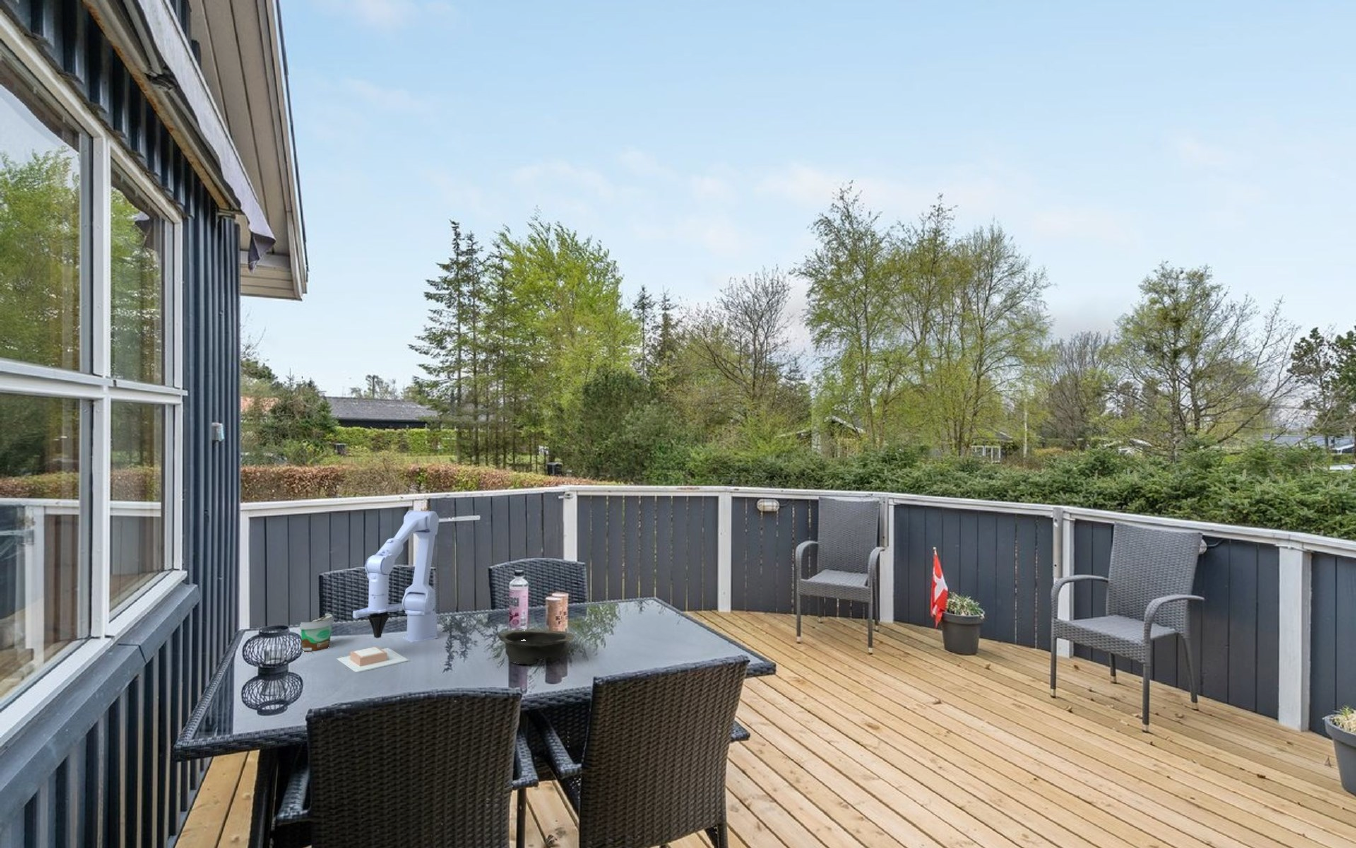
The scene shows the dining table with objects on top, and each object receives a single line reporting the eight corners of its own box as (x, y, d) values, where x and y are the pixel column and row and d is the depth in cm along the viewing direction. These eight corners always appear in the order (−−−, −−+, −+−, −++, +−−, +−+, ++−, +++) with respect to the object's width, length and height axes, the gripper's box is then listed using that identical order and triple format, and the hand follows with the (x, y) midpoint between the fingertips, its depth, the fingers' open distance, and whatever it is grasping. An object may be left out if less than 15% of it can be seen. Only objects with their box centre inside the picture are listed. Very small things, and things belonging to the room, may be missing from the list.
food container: (315, 656, 218) (316, 624, 218) (298, 654, 219) (299, 622, 219) (342, 644, 230) (342, 614, 230) (325, 642, 231) (326, 612, 231)
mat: (386, 648, 227) (386, 646, 227) (410, 662, 214) (410, 660, 214) (335, 659, 216) (335, 657, 216) (356, 674, 203) (357, 672, 203)
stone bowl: (504, 674, 205) (504, 642, 206) (491, 654, 228) (491, 626, 229) (584, 663, 215) (584, 633, 216) (564, 645, 238) (564, 618, 239)
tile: (376, 646, 220) (350, 651, 214) (386, 652, 214) (360, 657, 208) (376, 654, 220) (350, 659, 214) (386, 660, 214) (359, 666, 208)
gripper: (359, 599, 208) (358, 645, 208) (406, 592, 218) (405, 635, 218) (350, 595, 213) (349, 639, 213) (397, 588, 223) (396, 630, 223)
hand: (377, 637), depth 216 cm, fingers closed
